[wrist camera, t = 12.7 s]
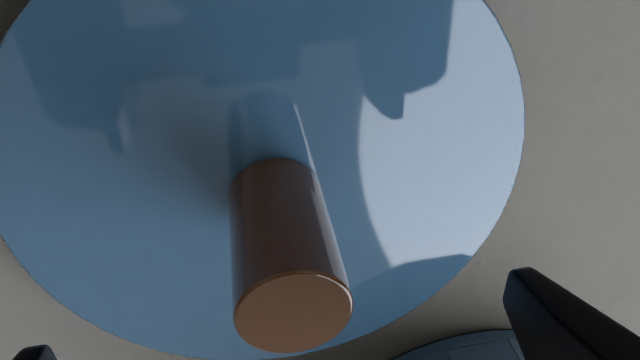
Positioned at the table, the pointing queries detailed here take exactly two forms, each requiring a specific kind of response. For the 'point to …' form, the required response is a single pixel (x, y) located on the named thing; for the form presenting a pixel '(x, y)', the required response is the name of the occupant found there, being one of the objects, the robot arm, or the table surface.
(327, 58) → the bowl lid
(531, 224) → the table surface
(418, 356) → the bowl
